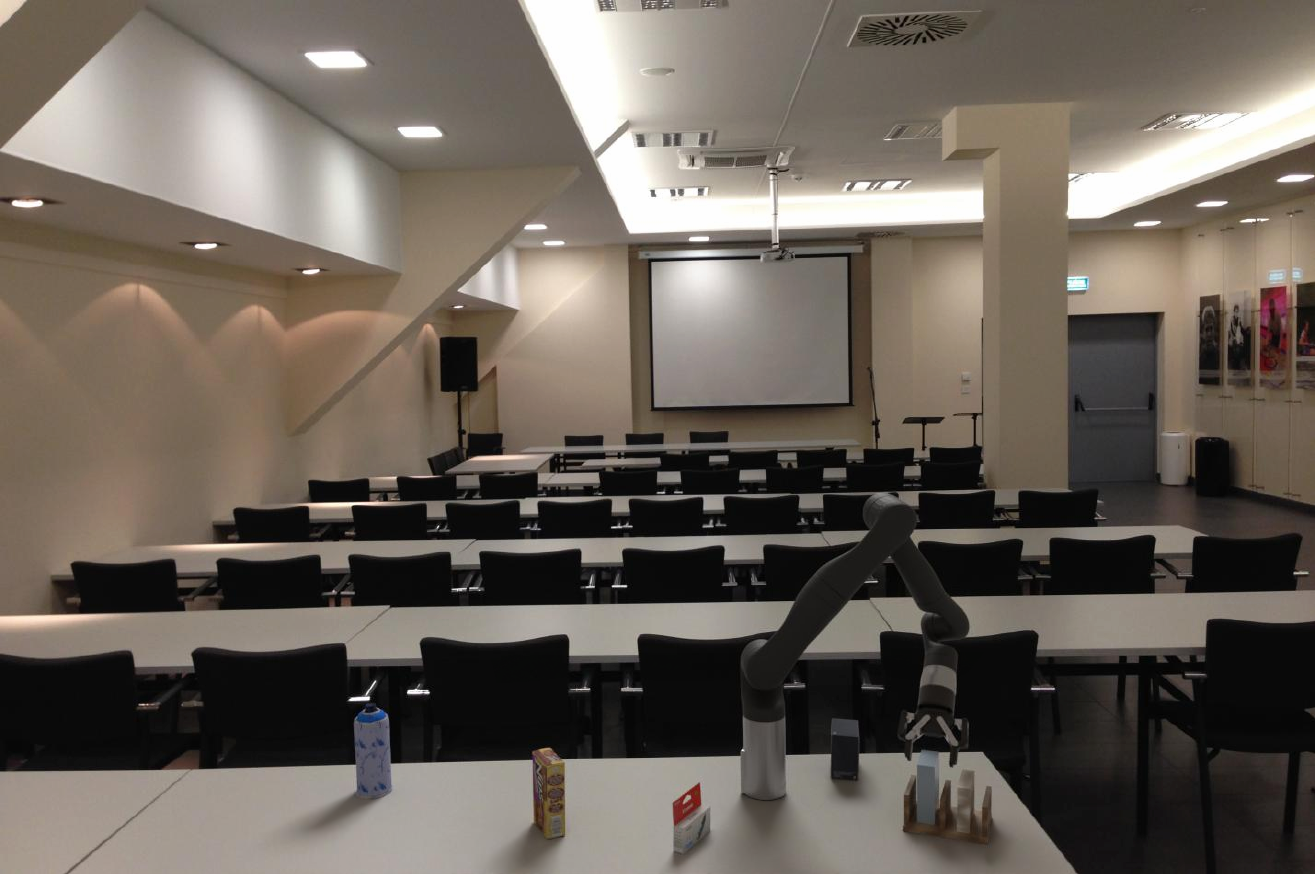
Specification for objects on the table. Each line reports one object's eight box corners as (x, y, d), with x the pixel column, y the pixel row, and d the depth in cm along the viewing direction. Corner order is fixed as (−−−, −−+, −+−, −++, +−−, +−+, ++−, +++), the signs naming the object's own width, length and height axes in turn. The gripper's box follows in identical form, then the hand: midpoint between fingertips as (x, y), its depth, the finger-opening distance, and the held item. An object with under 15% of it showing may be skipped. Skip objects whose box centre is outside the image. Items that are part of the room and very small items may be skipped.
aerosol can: (400, 788, 216) (396, 702, 214) (372, 801, 209) (368, 713, 208) (376, 780, 220) (372, 696, 219) (348, 794, 213) (344, 706, 212)
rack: (902, 830, 191) (902, 782, 191) (912, 804, 202) (912, 759, 201) (986, 844, 185) (987, 795, 184) (991, 817, 196) (992, 770, 195)
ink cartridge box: (711, 830, 193) (710, 784, 192) (683, 855, 184) (682, 806, 183) (700, 827, 194) (699, 781, 194) (672, 851, 185) (671, 803, 184)
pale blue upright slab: (917, 822, 192) (916, 764, 192) (921, 805, 200) (921, 749, 199) (935, 825, 191) (934, 767, 190) (939, 807, 198) (939, 751, 198)
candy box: (567, 835, 192) (565, 762, 191) (547, 840, 190) (545, 766, 189) (552, 817, 200) (550, 746, 199) (533, 822, 198) (530, 750, 197)
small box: (859, 781, 214) (859, 736, 213) (830, 779, 215) (829, 734, 215) (859, 762, 225) (858, 719, 224) (831, 760, 226) (830, 717, 225)
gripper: (902, 679, 207) (892, 750, 198) (970, 687, 202) (964, 760, 192) (906, 695, 213) (897, 765, 203) (973, 703, 207) (967, 775, 197)
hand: (929, 762), depth 197 cm, fingers open, 8 cm apart
